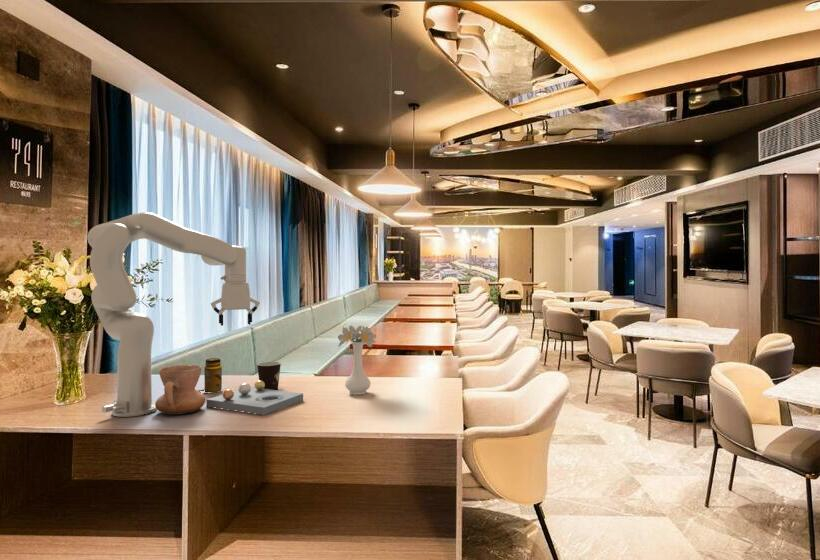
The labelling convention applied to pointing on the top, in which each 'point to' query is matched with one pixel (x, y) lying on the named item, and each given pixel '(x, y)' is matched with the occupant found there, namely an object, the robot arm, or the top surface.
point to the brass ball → (259, 385)
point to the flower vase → (357, 357)
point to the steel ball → (244, 389)
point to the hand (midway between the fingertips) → (235, 324)
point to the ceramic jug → (180, 389)
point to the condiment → (213, 375)
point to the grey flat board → (257, 401)
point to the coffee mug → (269, 374)
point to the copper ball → (228, 394)
